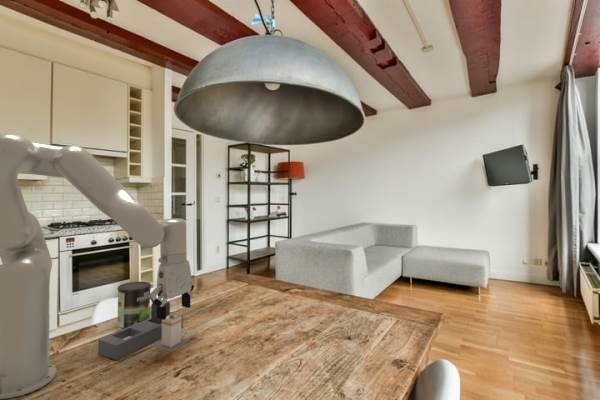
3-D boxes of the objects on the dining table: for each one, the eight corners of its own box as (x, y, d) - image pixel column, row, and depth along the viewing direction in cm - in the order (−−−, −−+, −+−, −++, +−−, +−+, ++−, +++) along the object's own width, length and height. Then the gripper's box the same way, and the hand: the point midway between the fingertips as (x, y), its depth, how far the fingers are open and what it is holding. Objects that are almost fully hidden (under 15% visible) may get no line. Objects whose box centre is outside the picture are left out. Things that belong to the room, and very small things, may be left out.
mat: (170, 353, 89) (170, 351, 89) (151, 346, 92) (151, 345, 92) (190, 341, 96) (190, 340, 96) (172, 336, 100) (172, 334, 99)
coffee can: (156, 320, 111) (157, 282, 111) (135, 332, 101) (136, 291, 101) (132, 317, 113) (132, 280, 113) (109, 329, 103) (110, 288, 103)
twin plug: (159, 329, 99) (160, 303, 99) (151, 327, 101) (151, 301, 101) (169, 325, 103) (169, 300, 103) (160, 322, 104) (161, 298, 104)
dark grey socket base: (116, 361, 84) (116, 345, 84) (98, 354, 87) (98, 339, 87) (182, 327, 106) (182, 315, 106) (166, 323, 109) (166, 311, 109)
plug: (170, 347, 91) (171, 319, 91) (161, 344, 93) (161, 316, 93) (181, 341, 95) (181, 314, 95) (171, 338, 97) (172, 312, 97)
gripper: (159, 266, 84) (160, 326, 85) (202, 254, 100) (203, 304, 101) (140, 263, 88) (141, 321, 88) (185, 252, 103) (186, 301, 104)
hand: (174, 312), depth 94 cm, fingers open, 9 cm apart
